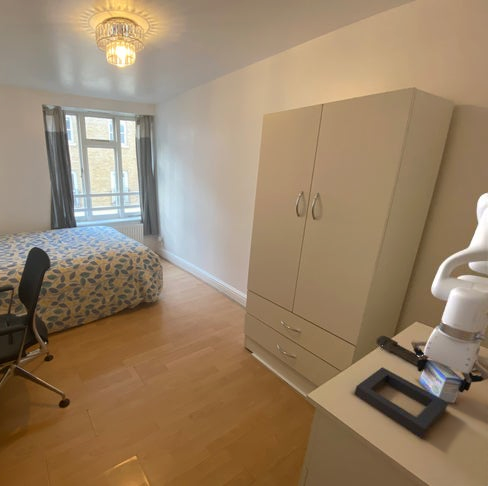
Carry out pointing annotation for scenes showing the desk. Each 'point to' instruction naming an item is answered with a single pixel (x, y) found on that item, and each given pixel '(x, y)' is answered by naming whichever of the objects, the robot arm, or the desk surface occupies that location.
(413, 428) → the holder
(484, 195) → the robot arm
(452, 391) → the medicine box
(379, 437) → the desk surface
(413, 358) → the hand tool
